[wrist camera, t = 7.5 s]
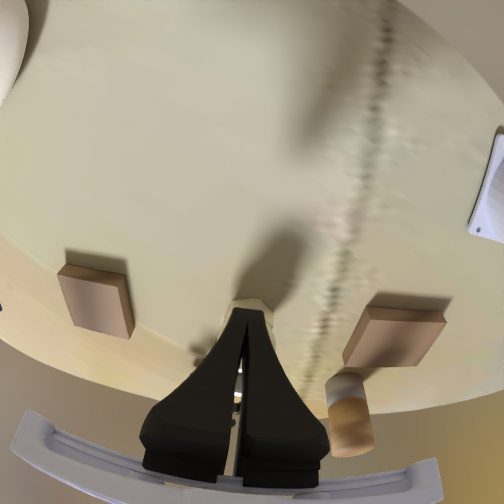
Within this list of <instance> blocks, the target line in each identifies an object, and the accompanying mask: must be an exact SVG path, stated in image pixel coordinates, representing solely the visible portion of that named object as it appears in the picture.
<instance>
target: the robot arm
mask: <svg viewBox="0 0 504 504" xmlns="http://www.w3.org/2000/svg"><path fill="white" fill-rule="evenodd" d="M477 228H478V229H477ZM468 231H469V232H470V233H471V234H473V235H477V236H481V237H484V238H488V239H492V240H495V241H499V242H502V243H504V135H503V134H500V133H499V134H497V136H496V138H495V143H494V147H493V151H492V155H491V159H490V162H489V166H488V169H487V173H486V176H485V179H484V183H483V186H482V189H481V192H480V195H479V198H478V201H477V203H476V206H475V209H474V212H473V214H472V217H471V219H470V222H469V225H468ZM241 359H242V393H241V410H240V420H239V428H238V438H237V445H236V454H235V462H234V469H233V476H225V475H223V474H224V470H225V465H226V460H227V455H228V450H229V443H230V442H229V441H230V433H231V424H232V413H233V404H234V395H235V386H236V381H237V377H238V372H239V368H240V363H241ZM139 438H140V440H141V442H142V444H143V446H144V447H145V449H146V451H145V455H144V459H140V458H136V457H133V456H130V455H126V454H123V453H120V452H117V451H114V450H111V449H108V448H105V447H102V446H100V445H97V444H94V443H92V442H89V441H87V440H84V439H82V438H79V437H76V436H74V435H72V434H70V433H67V432H65V431H63V430H61V429H59V428H56V427H55V426H54V425H53V423H52V422H51V421H49V420H48V419H47V418H45V417H43V416H41V415H39V414H37V413H35V412H33V411H31V410H30V409H27V410H26V412H25V414H24V416H23V418H22V421H21V423H20V425H19V427H18V429H17V432H16V434H15V436H14V439H13V441H12V443H11V446H10V450H11V451H12V452H14V453H15V454H16V455H18V456H19V457H21V458H22V459H24V460H25V461H27V462H28V463H29V464H31V465H32V466H34V467H36V468H37V469H39V470H41V471H43V472H45V473H46V474H48V475H50V476H52V477H54V478H56V479H58V480H60V481H62V482H64V483H66V484H68V485H70V486H72V487H74V488H76V489H78V490H80V491H83V492H85V493H88V494H90V495H92V496H94V497H97V498H100V499H102V500H104V501H107V502H110V503H112V504H434V503H436V502H439V501H441V500H443V499H444V495H443V489H442V484H441V478H440V474H439V469H438V463H437V459H436V458H435V457H434V458H430V459H427V460H422V461H418V462H415V463H413V464H411V465H409V466H408V467H407V468H405V469H400V470H395V471H389V472H383V473H377V474H370V475H362V476H354V477H344V478H331V479H319V475H318V470H319V469H320V460H321V459H322V458H324V457H325V456H326V455H327V454H328V453H329V451H330V445H329V439H328V435H327V432H326V429H325V427H324V426H323V425H322V424H321V423H320V421H319V420H318V419H317V418H316V417H315V416H314V415H313V414H312V412H311V411H310V410H309V409H308V407H307V406H306V405H305V404H304V402H303V401H302V399H301V398H300V397H299V395H298V394H297V392H296V391H295V389H294V388H293V386H292V385H291V383H290V381H289V380H288V378H287V376H286V374H285V372H284V370H283V368H282V366H281V364H280V362H279V360H278V358H277V355H276V353H275V350H274V348H273V345H272V342H271V339H270V336H269V333H268V330H267V326H266V322H265V316H264V312H263V311H262V310H255V309H247V308H239V307H235V308H233V310H232V313H231V316H230V318H229V320H228V323H227V325H226V327H225V329H224V330H223V332H222V334H221V335H220V337H219V339H218V340H217V342H216V343H215V345H214V346H213V348H212V349H211V351H210V352H209V354H208V355H207V356H206V358H205V359H204V360H203V361H202V362H201V364H200V365H199V366H198V367H197V368H196V369H195V371H194V372H193V373H192V374H191V375H190V376H189V377H188V378H187V379H186V380H185V381H184V382H183V383H182V384H181V385H180V386H178V387H177V388H176V389H175V390H174V391H173V392H172V393H170V394H169V395H168V396H167V397H165V398H164V399H163V400H161V401H160V402H159V403H157V404H156V405H155V406H153V407H152V409H151V410H150V412H149V413H148V415H147V417H146V419H145V421H144V423H143V425H142V429H141V432H140V435H139ZM160 480H161V481H160ZM163 481H166V482H170V483H175V484H180V485H184V486H190V487H195V488H179V487H172V486H167V485H165V483H164V482H163ZM198 488H201V489H198ZM206 489H208V490H206ZM213 490H215V491H213ZM221 491H222V492H221ZM229 492H231V493H229ZM239 493H241V494H239ZM252 494H255V495H252ZM268 495H286V496H288V495H289V496H292V495H295V496H293V497H292V499H285V498H283V497H278V496H268Z"/></svg>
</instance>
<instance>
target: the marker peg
mask: <svg viewBox="0 0 504 504" xmlns="http://www.w3.org/2000/svg"><path fill="white" fill-rule="evenodd" d="M325 389H326V398H327V407H328V416H329V426H330V436H331V447H332V455H333V456H335V457H351V456H356V455H360V454H362V453H365V452H368V451H369V450H371V449H373V447H374V446H375V444H374V437H373V432H372V427H371V421H370V415H369V410H368V405H367V400H366V395H365V390H364V386H363V381H362V377H361V376H360V375H359V374H356V373H344V374H339V375H337V376H334V377H332V378H331V379H329V380H328V381H327V382H326V384H325Z"/></svg>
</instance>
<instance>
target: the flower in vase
mask: <svg viewBox="0 0 504 504" xmlns="http://www.w3.org/2000/svg"><path fill="white" fill-rule="evenodd" d="M28 30H29V15H28V9H27V6H26V3H25V1H24V0H0V105H1V104H2V103H3V101H4V100H5V98H6V97H7V95H8V94H9V92H10V90H11V88H12V86H13V84H14V82H15V80H16V77H17V75H18V72H19V70H20V67H21V64H22V60H23V57H24V53H25V49H26V44H27V38H28Z"/></svg>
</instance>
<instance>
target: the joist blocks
mask: <svg viewBox="0 0 504 504" xmlns="http://www.w3.org/2000/svg"><path fill="white" fill-rule="evenodd" d="M57 277H58V280H59V283H60V286H61V290H62V293H63V296H64V299H65V302H66V304H67V307H68V310H69V313H70V316H71V318H72V321H73V323H74V325H75V326H78V327H82V328H85V329H89V330H92V331H96V332H100V333H104V334H108V335H112V336H116V337H120V338H124V339H128V340H129V339H130V337H131V335H132V333H133V331H134V328H135V327H134V322H133V317H132V312H131V307H130V302H129V297H128V291H127V286H126V280H125V275H121V274H115V273H109V272H104V271H99V270H93V269H88V268H83V267H78V266H73V265H68V264H65V265H64V266H63V268H62V269H61V270H60V271H59V272H58V273H57ZM446 324H447V322H446V320H445V318H444V316H443V314H442V313H441V311H423V310H407V309H393V308H379V307H367V306H366V307H365V309H364V312H363V314H362V316H361V318H360V320H359V322H358V324H357V326H356V328H355V330H354V332H353V334H352V336H351V338H350V340H349V342H348V344H347V346H346V348H345V350H344V352H343V354H342V356H343V361H344V366H345V367H409V366H417V365H418V364H419V362H420V361H421V360H422V358H423V357H424V356H425V354H426V353H427V352H428V350H429V349H430V347H431V346H432V345H433V343H434V342H435V340H436V339H437V337H438V336H439V334H440V333H441V331H442V330H443V328H444V327H445V325H446Z"/></svg>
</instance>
